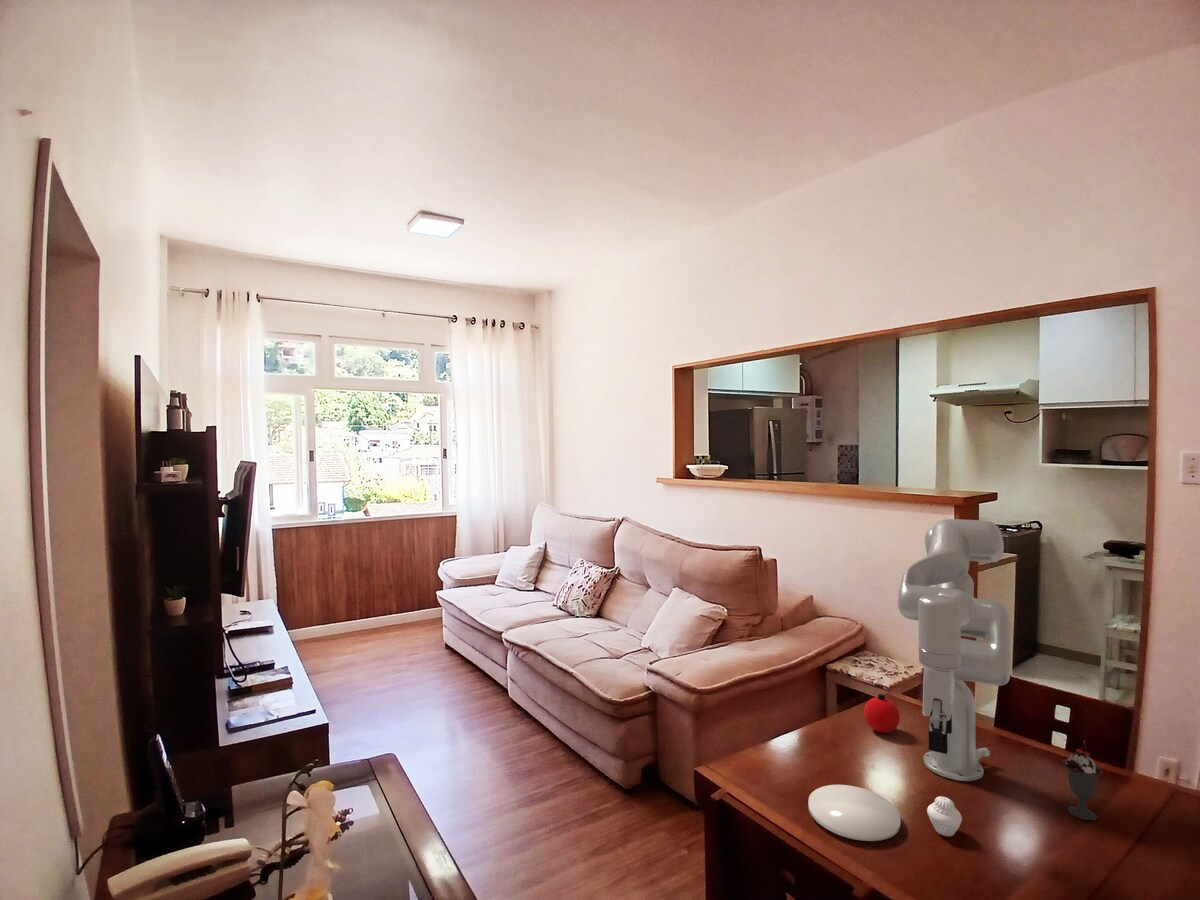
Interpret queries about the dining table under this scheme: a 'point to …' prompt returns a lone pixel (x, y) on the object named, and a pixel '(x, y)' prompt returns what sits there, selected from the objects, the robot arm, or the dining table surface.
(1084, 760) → the sundae
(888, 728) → the ornament
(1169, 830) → the dining table surface
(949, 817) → the muffin
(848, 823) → the cake plate
